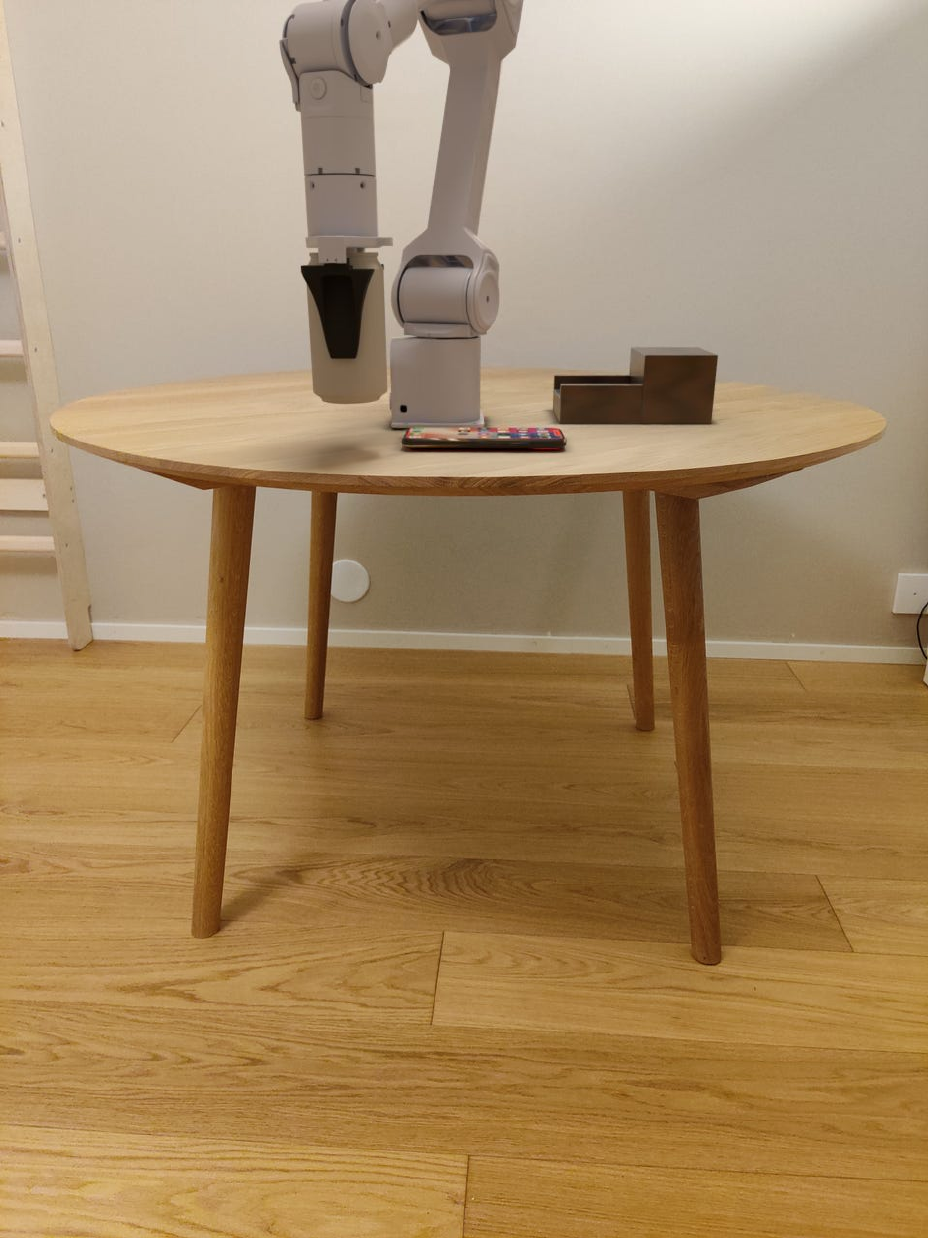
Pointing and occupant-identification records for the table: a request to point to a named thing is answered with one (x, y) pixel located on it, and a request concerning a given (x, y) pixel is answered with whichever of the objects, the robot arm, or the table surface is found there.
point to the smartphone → (483, 437)
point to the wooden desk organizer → (642, 390)
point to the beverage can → (369, 368)
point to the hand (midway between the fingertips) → (348, 354)
